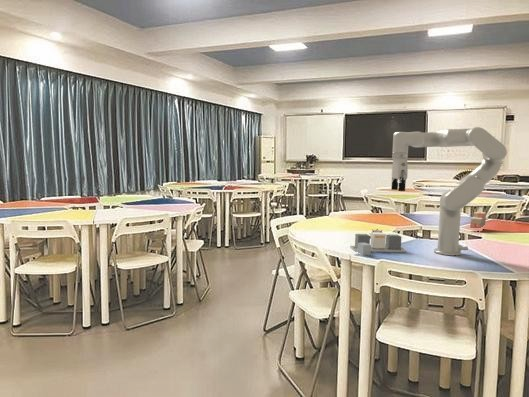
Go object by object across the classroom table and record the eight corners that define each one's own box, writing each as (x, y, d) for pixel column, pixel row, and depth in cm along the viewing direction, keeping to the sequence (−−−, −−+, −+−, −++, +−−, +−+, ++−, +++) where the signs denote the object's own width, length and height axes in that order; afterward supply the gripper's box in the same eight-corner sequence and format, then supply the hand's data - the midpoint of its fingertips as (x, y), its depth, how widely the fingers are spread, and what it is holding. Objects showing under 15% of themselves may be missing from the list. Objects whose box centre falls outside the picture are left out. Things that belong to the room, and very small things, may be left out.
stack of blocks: (479, 232, 286) (481, 214, 285) (469, 231, 290) (471, 213, 289) (485, 229, 304) (486, 212, 302) (475, 228, 307) (476, 211, 306)
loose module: (381, 246, 220) (382, 232, 219) (385, 248, 215) (385, 234, 214) (370, 245, 219) (370, 232, 219) (373, 247, 214) (374, 234, 214)
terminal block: (364, 252, 210) (365, 242, 210) (370, 255, 204) (371, 245, 204) (357, 252, 209) (357, 242, 209) (362, 255, 203) (363, 245, 203)
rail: (399, 248, 222) (400, 233, 222) (406, 252, 213) (406, 236, 213) (349, 247, 221) (350, 232, 220) (354, 251, 212) (355, 235, 211)
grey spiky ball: (374, 249, 237) (375, 233, 242) (388, 246, 231) (388, 230, 236) (364, 242, 232) (366, 226, 237) (378, 239, 226) (379, 223, 231)
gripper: (414, 156, 208) (412, 191, 210) (400, 157, 226) (398, 189, 227) (399, 156, 208) (397, 191, 209) (386, 156, 225) (385, 189, 226)
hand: (398, 190), depth 218 cm, fingers open, 9 cm apart
